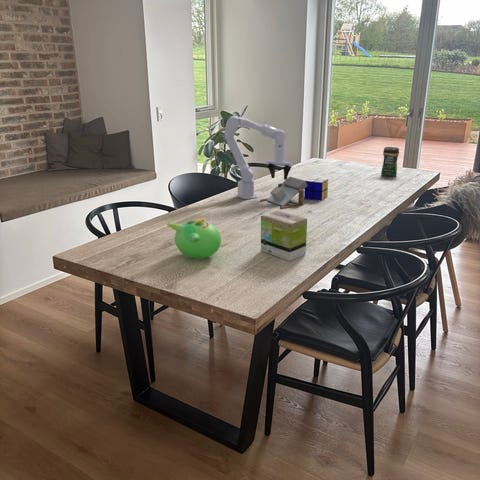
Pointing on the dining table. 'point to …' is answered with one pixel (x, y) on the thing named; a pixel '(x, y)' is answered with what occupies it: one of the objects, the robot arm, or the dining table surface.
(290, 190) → the trapdoor
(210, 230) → the toy bird
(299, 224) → the tea box
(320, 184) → the puzzle cube
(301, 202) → the frame
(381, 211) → the dining table surface
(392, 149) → the coffee jar
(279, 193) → the grey cube
